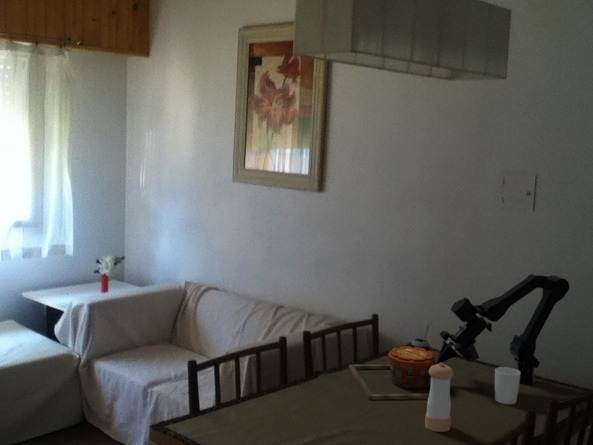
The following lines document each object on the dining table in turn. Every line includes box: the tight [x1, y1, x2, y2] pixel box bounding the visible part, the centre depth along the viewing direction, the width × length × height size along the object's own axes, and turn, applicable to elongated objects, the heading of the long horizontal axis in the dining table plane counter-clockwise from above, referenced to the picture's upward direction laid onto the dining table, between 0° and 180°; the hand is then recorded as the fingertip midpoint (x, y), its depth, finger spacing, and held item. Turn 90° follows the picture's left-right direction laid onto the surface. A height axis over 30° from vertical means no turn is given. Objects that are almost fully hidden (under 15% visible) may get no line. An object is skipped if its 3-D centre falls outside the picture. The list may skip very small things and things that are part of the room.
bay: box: [348, 363, 430, 401], centre depth 239 cm, size 26×30×1 cm
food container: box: [388, 345, 437, 390], centre depth 238 cm, size 16×16×11 cm
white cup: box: [494, 366, 521, 405], centre depth 226 cm, size 8×8×10 cm
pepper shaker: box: [424, 362, 455, 433], centre depth 203 cm, size 7×7×19 cm
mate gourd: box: [410, 320, 433, 351], centre depth 262 cm, size 8×8×15 cm
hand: (437, 362), depth 240 cm, fingers closed
